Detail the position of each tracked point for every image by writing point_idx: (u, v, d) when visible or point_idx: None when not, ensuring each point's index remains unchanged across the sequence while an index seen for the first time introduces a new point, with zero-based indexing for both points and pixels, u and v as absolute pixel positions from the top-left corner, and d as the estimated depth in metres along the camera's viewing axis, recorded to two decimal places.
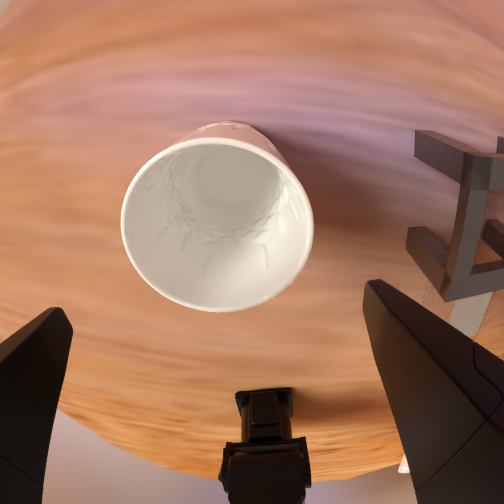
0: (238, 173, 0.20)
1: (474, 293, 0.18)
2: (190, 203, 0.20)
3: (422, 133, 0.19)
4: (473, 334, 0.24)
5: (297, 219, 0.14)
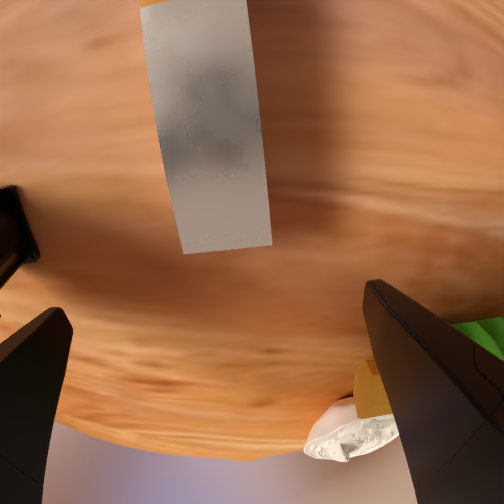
0: None
1: None
2: None
3: None
4: None
5: None
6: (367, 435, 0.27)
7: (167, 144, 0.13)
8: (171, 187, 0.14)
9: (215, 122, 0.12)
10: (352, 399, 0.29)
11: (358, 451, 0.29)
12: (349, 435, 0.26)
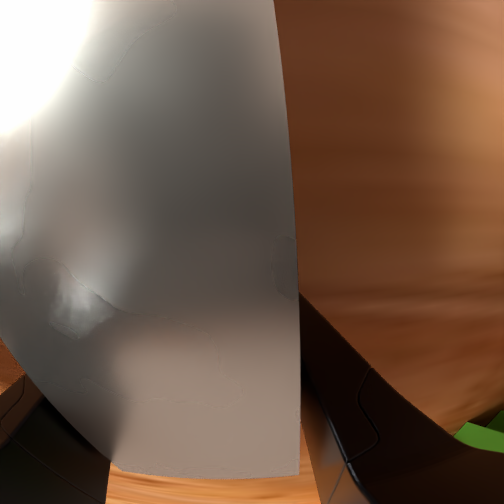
0: None
1: None
2: None
3: None
4: None
5: None
6: None
7: None
8: (51, 397, 0.04)
9: (99, 256, 0.03)
10: None
11: None
12: None
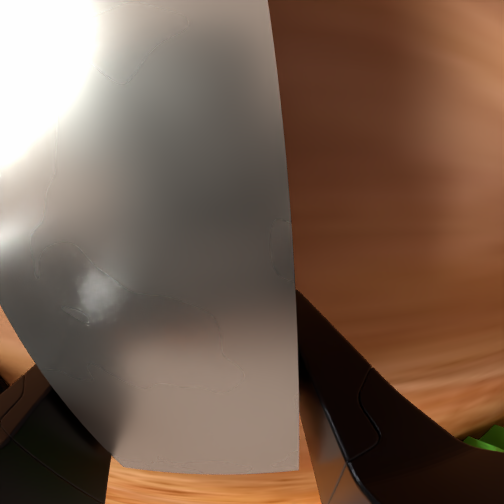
0: None
1: None
2: None
3: None
4: None
5: None
6: None
7: (9, 296, 0.04)
8: (56, 386, 0.05)
9: (114, 238, 0.03)
10: None
11: None
12: None
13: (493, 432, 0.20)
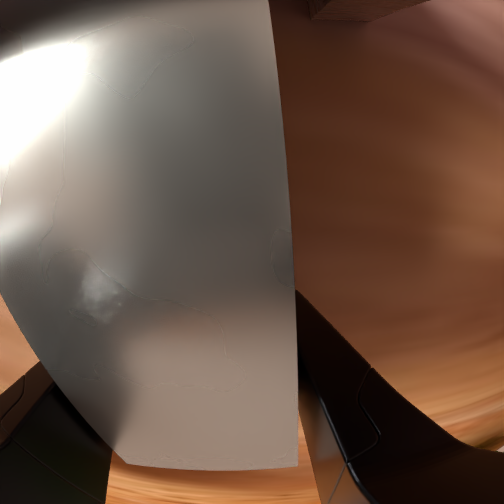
0: None
1: None
2: None
3: None
4: None
5: None
6: None
7: (17, 299, 0.04)
8: (63, 386, 0.05)
9: (121, 246, 0.03)
10: None
11: None
12: None
13: None
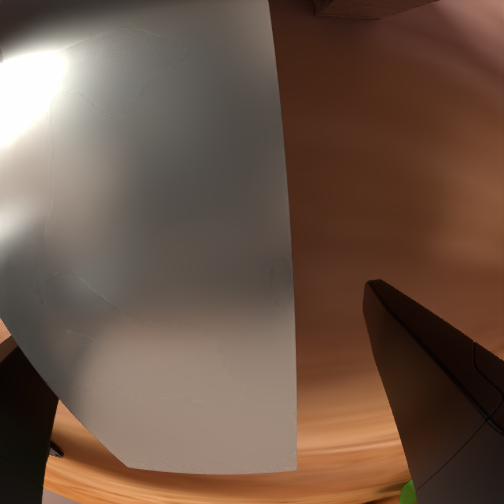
0: None
1: None
2: None
3: None
4: None
5: None
6: None
7: (13, 317, 0.04)
8: (63, 397, 0.05)
9: (116, 271, 0.03)
10: None
11: None
12: None
13: None
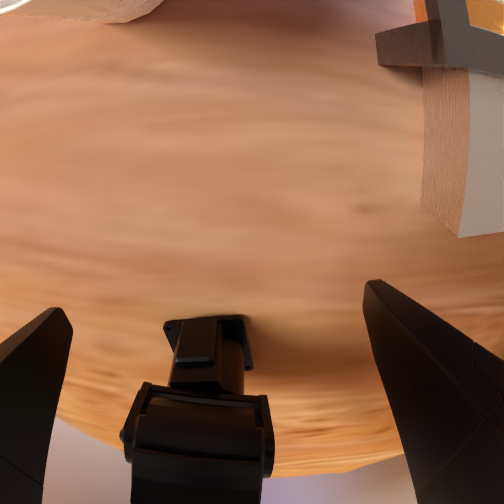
0: None
1: (491, 67, 0.08)
2: None
3: None
4: None
5: None
6: None
7: (473, 144, 0.12)
8: (468, 181, 0.14)
9: (501, 134, 0.12)
10: None
11: None
12: None
13: None
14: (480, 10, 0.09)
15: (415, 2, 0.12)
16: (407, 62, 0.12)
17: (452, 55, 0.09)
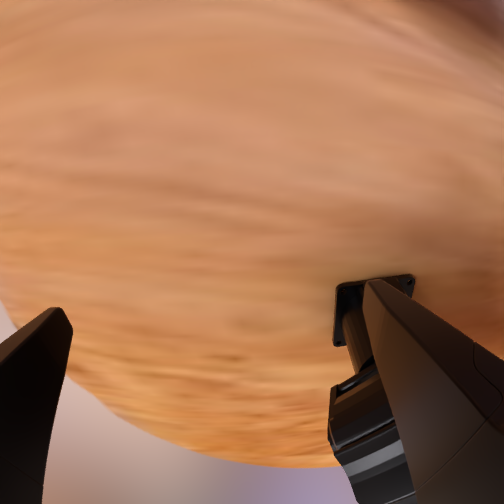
0: None
1: None
2: None
3: None
4: None
5: None
6: None
7: None
8: None
9: None
10: None
11: None
12: None
13: None
14: None
15: None
16: None
17: None
